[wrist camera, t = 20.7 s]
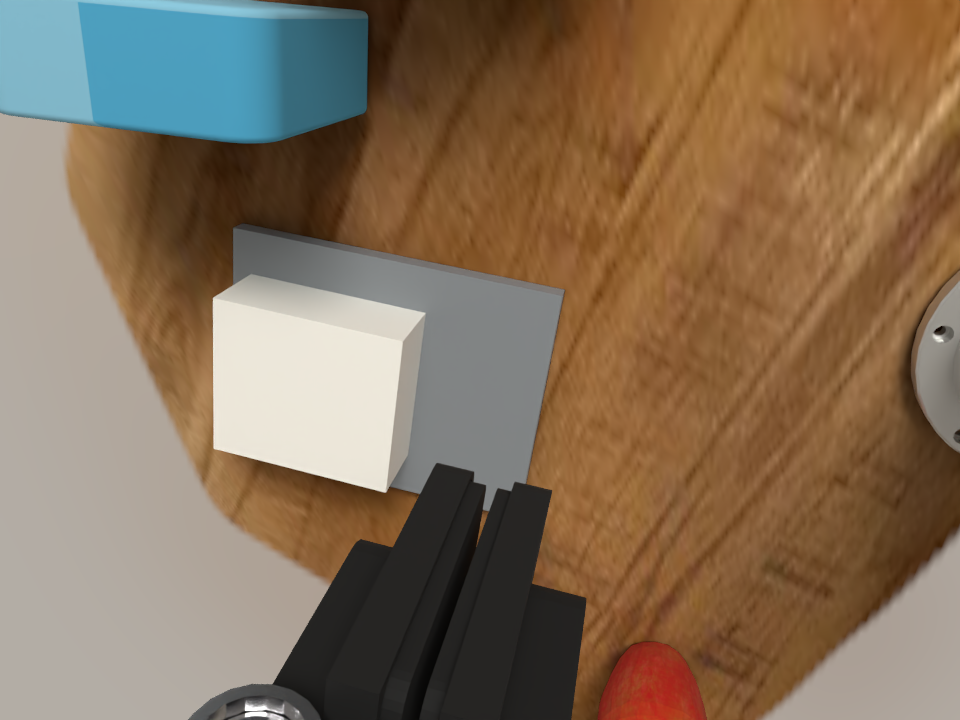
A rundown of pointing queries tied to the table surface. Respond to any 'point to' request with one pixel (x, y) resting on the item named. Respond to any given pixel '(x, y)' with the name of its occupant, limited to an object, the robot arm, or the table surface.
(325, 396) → the slab
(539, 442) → the table surface
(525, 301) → the board
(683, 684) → the apple
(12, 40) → the data package
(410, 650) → the robot arm
